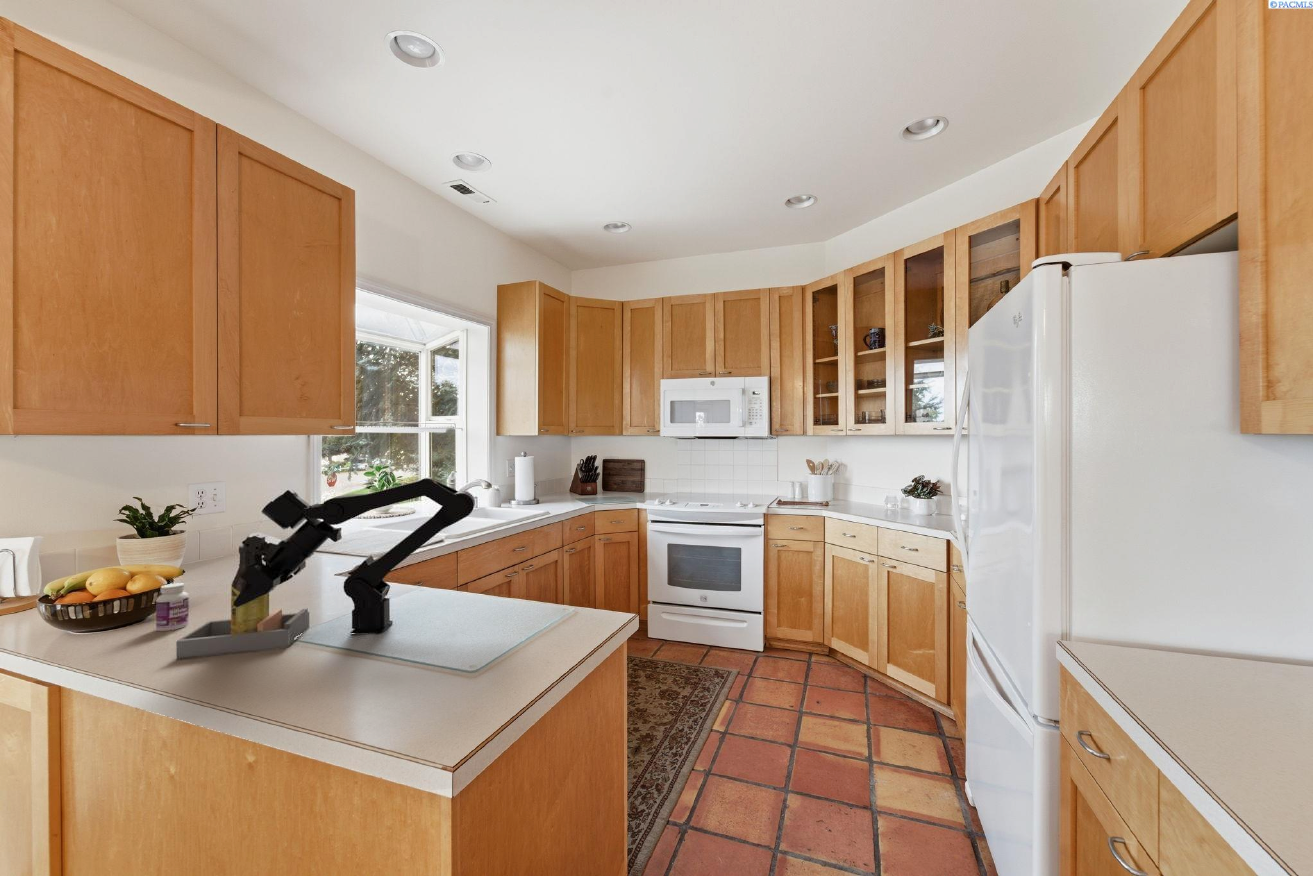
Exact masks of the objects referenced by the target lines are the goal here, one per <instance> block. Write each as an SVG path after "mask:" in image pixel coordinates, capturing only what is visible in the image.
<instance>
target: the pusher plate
mask: <svg viewBox="0 0 1313 876" xmlns="http://www.w3.org/2000/svg"><path fill="white" fill-rule="evenodd" d="M282 614H283V609H282V608H277V609H276V610H273V612H271V613H270V614H269V616H267V617H266V618H265V619H263V620H262V621H261V622H259V623H258V624H257V632H260V631H270V630H280V629H282Z"/></svg>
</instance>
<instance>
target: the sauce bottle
mask: <svg viewBox="0 0 1313 876" xmlns="http://www.w3.org/2000/svg"><path fill="white" fill-rule="evenodd" d="M243 549H244V547H243V544H241V545H239V546H238V554H239V564H238V569H237V571H236V574H235V576H234V578H233V580H232V582H231V591H230V594H231V598H230V599H231V600H230V601H231V602H230V604H231V605H230V613H231V614H230V619H231V634H240V633H250V632H257V624H258V623H259V622H261V621H262V620H263V619H265V618H266V617H267V616H269V615H270V614H269V613H270V592H269V593H267V594H265V595H263V596H260V597H258V598H256V599H254V600H252V601H250V602H248V603H246V604H243V605H241V606H239V607H236V606H234V605H233V603H234V601H235V600H236V598H237V597H238V595H239V594H240V592H241V590H242V589H243V587H244V585H245V584H246V581H245V580H243V579H242V578H241V577H240V576H239V574H240V573H241V572H242V571H243V570H244V569H245V568H246V567H248V566H250V565H252V564H254V563H263V562H264V561H263V560H262V558H263V556H262V555H258V554H255V553H252V552H249V551H248V550H245V551H243ZM263 564H264V563H263Z"/></svg>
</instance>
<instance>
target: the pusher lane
mask: <svg viewBox="0 0 1313 876" xmlns="http://www.w3.org/2000/svg"><path fill="white" fill-rule="evenodd" d="M309 628H310V611H309V609H308V608H302V609H301V610H300V611H298V612H291V613H282V629H280V630H270V631H260V632H250V633H240V634H231V618H227V619H215V620H214V619H213V620H210V621H207V622H206V623H204V624H203V625H201V626H199V627H197V629H195V630H193V631H191V632H189V633H188V634H186V635H184V636H183V637H181V638H179V639H177V640H176V642H175V643H176V649H175V650H176V651H175V652H176V660H177V659H179V660H184V659H183V658H188V659H194V658H205V657H204V656H206V657H214V656H223V655H231V654H241V653H249V652H251V651H252V652H257V651H258V652H259V651H267V650H268V651H270V650H278V649H287V648H286V647H288V648H289V647H290V646H292V645H293V644H294V643H293V642H294V638H295V637H296V636H298V635H300V634H301V633H303V632H304V631H305V632H306V631H307V630H308V629H309ZM305 632H304V633H305ZM304 633H303V634H304Z"/></svg>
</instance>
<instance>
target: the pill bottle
mask: <svg viewBox="0 0 1313 876" xmlns="http://www.w3.org/2000/svg"><path fill="white" fill-rule="evenodd" d="M185 586H186V585H185V582H175V583H170V584H164V585H161V586H160V594H161V595H159V596H158V597H157V598H156V600H155V601H156V602H155V605H156V606H155V607H156V608H155V610H156V612H155V614H156V615H155V622H156V623H155V625H156V630H157V631H158V632H169V631H170V630H171V631H175V630H174V629H176V630H179V628H180V629H182V628H185V627H187V626H188V625H189V615H190V614H189V612H190V611H189V610H190V609H189V608H190V607H189V606H190V605H189V603H190V602H189V601H190V600H189V598H190V595H189V593H188V592H187V591H185V589H186V587H185ZM171 631H170V632H171Z"/></svg>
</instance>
